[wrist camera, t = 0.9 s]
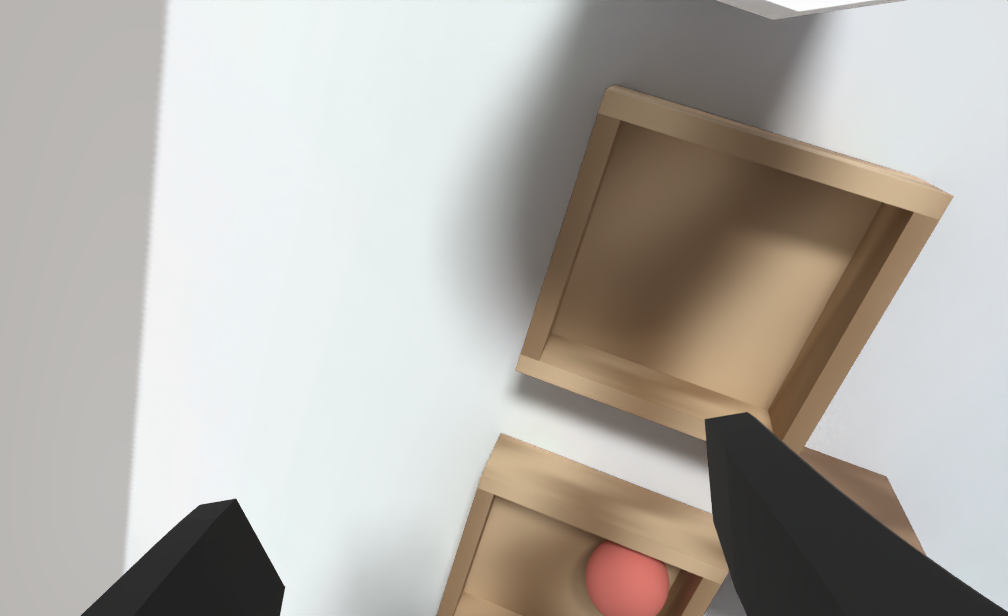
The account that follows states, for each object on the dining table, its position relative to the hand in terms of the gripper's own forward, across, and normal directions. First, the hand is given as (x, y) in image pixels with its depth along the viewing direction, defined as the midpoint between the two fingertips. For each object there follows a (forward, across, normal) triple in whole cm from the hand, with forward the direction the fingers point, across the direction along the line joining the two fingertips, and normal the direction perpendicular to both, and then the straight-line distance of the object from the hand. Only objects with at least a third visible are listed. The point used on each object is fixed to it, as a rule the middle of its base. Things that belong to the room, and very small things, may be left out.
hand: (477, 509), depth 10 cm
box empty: (+14, -7, +3) cm, 16 cm away
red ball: (+12, -3, +16) cm, 20 cm away
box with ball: (+13, 0, +17) cm, 21 cm away
